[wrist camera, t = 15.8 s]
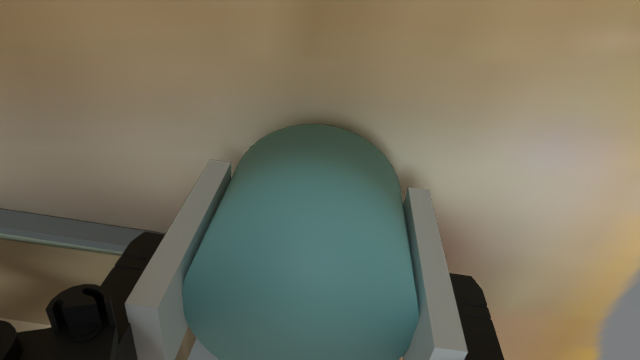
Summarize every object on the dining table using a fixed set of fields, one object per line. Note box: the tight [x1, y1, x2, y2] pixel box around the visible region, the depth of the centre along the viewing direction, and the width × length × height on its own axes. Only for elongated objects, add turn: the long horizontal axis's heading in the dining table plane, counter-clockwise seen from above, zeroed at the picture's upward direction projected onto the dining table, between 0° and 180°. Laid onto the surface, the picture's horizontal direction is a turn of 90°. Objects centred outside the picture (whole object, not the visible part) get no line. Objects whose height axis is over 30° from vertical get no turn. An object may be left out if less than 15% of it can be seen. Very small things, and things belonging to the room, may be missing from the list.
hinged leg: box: [0, 239, 196, 360], centre depth 18 cm, size 14×3×6 cm, turn 84°
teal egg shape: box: [182, 124, 419, 360], centre depth 14 cm, size 6×6×6 cm
